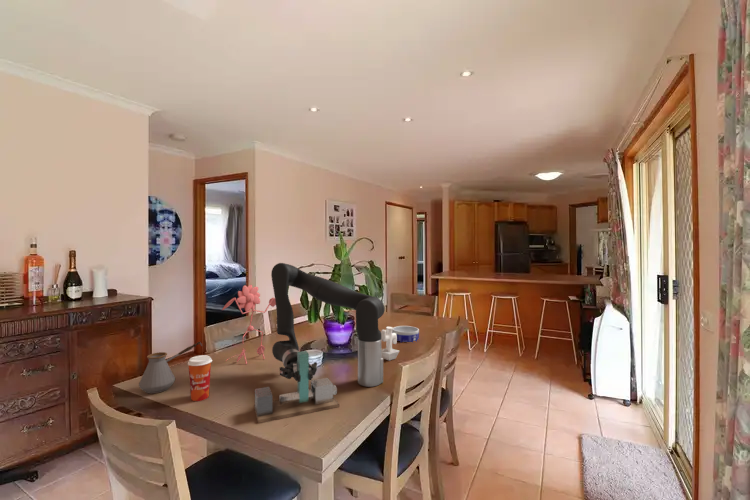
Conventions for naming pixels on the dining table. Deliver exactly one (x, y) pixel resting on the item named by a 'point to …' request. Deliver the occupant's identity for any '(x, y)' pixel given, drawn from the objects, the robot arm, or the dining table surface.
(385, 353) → the figurine
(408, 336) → the dog bowl
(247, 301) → the figurine
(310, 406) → the walnut board
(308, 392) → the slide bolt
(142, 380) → the coffee pot
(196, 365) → the paper cup
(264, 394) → the sleeve and socket
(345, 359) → the dining table surface
